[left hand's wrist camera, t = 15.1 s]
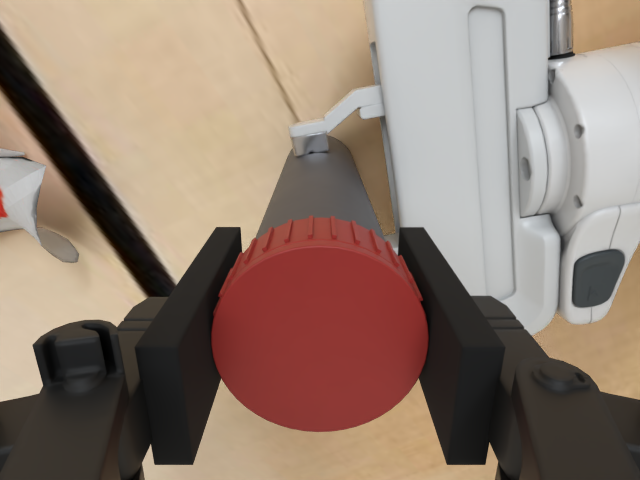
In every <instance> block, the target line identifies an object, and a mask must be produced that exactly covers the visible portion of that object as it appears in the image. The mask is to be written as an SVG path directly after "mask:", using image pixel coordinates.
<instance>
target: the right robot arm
mask: <svg viewBox="0 0 640 480" xmlns="http://www.w3.org/2000/svg"><path fill="white" fill-rule="evenodd" d="M363 3H364V10H365V18H366V25H367V32H368V39H369V46H370V53H371V61H372V68H373V75H374V82H375V85H370V86H365V87H360V88H356V89H352V90H351V91H350V92H349V93H348V94H347V95H345V96H344V97H343V98H342V99H341V100H340V101H339V102H338V103H337V104H335V105H334V106H333V107H332V108H331V109H330V110H329V111H328V112H326V113H325V114H324V118H319V119H314V120H309V121H304V122H299V123H295V124H292V125H290V126H289V127H288V128H289V133H290V138H291V142H292V146H293V151H294V155H295V156H304V155H307V154H309V153H310V151H312V152H315V153H320V152H325V151H329V145H328V139H327V134H328V133H329V132H331V131H332V130H333V129H334V128H335V127H336V126H337V125H339V124H340V123H341V122H342V121H343V120H344V119H346V118H347V117H348V116H349V115H350V114H351V113H353V112H354V111H355V110H357V114H358V115H359V116H360V118H362V119H363V120H364V119H369V118H375V117H379V118H380V125H381V132H382V139H383V147H384V154H385V161H386V168H387V175H388V182H389V190H390V197H391V204H392V211H393V218H394V225H395V233H394V234H389V235H384V238H385V241H387V240H388V241H389V242H390V243H391V245H392V247H393V250H394V251H395V253H396V254H397V255H398V244H399V229H400V227H424V228H425V230H426V231H427V233H428V234H429V236H430V237H431V239H432V240H433V242H434V243H435V245H436V246H437V248H438V249H439V250H440V252H441V253H442V255H443V256H444V258H445V259H446V261H447V262H448V264H449V265H450V267H451V268H452V269H453V271H454V272H455V274H456V275H457V277H458V278H459V280H460V281H461V283H462V284H463V286H464V287H465V288H466V290H467V291H468V293H469V294H470V296H492V297H494V298H495V299H497V300H499V301H500V302H502V303H503V304H505V305H507V306H508V308H509V309H510V310H511V311H512V313H513V314H514V315H515V316H516V320H519V321H520V322H521V324H522V325H523V326H524V329H526V330H527V331H528V332H529V333H530V335H531V336H532V335H534V334H536V333H538V332H540V331H541V330H542V329H544V328H545V327H546V326H547V325H548V324H549V323H550V322H551V320H552V319H553V317H554V316H555V313H557V314H558V315H560V316H561V317H562V318H563V319H565V320H566V321H567V322H569V323H571V324H575V325H580V324H589V323H593V322H597V321H599V320H601V319H602V318H604V317H605V315H606V314H607V313H608V311H609V309H610V307H611V305H612V302H613V300H614V297H615V295H616V292H617V290H618V287H619V285H620V283H621V280H622V278H623V275H624V273H625V271H626V269H627V266H628V264H629V262H630V260H631V258H632V256H633V254H634V252H635V250H636V248H637V246H638V245H639V243H640V41H639V42H633V43H629V44H624V45H618V46H613V47H608V48H603V49H598V50H593V51H588V52H583V53H577V54H575V53H573V11H571V10H572V5H571V0H363ZM326 132H327V133H326Z"/></svg>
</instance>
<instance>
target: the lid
mask: <svg viewBox="0 0 640 480" xmlns="http://www.w3.org/2000/svg"><path fill="white" fill-rule="evenodd" d="M218 297H220V299H219V301H218V303H217V305H216V307H215V310H214V312H213V316H214V318H213V323H212V330H211V346H212V353H213V358H214V361H215V364H216V367H217V370H218V372H219V374H220V376H221V378H222V380H223V382H224V383H225V385H226V386H227V388H228V389H229V390H230V392H231V393H232V394H233V395H234V396H235V397H236V399H238V400H239V401H240V402H241V403H242V404H243V405H244V406H245V407H247V408H248V409H249V410H251V411H252V412H254V413H255V414H257V415H258V416H260V417H262V418H264V419H266V420H268V421H270V422H273V423H275V424H278V425H280V426H284V427H287V428H291V429H296V430H302V431H312V432H329V431H338V430H344V429H348V428H352V427H356V426H359V425H362V424H365V423H367V422H370V421H372V420H374V419H376V418H378V417H380V416H381V415H383V414H384V413H386V412H388V411H389V410H391V409H392V408H393V407H394V406H395V405H397V404H398V403H399V402H400V401H401V400H402V399H403V398H404V397H405V396H406V395H407V394H408V393H409V391H410V390H411V389H412V387H413V386H414V384H415V383H416V381H417V379H418V378H419V376H420V374H421V372H422V369H423V366H424V364H425V361H426V356H427V351H428V342H429V333H428V324H427V320H426V317H427V316H426V314H425V311H424V309H423V307H422V305H421V302H420V301H422V300H423V298H422V296H421V294H420V291H419V289H418V287H417V285H416V283H415V281H414V278H413V276H412V274H411V272H409V270H408V268H407V265H406V263H405V261H404V259H403V257H402V255H400V256H398V255H397V254H396V253H395V251H394V250H393V247H392V245H391V243H390V242H389V241H388V240H387V241H386V242H385V241H384V240H383V239H382V238H380V237H379V236H377V235H376V233H375V230H373V229H370V230H368V229H366V228H364V227H362V226H360V225H357V224H356V221H353V220H352V221H351V222H348V221H344V220H339V219H335V216H331V217H330V218H314V217H313V216H309V218H307V219H301V220H295V221H293V220H292V219H290V220H288V223H285V224H283V225H281V226H278V227H276V228H273V227H270V228H269V229H268V232H267V233H265V234H264V235H262V236H261V237H260V238H258V239H256V238H254V239H253V240H252V242H251V244H250V246H249V248H248V249H247V250H246V251H245V252H244V253H242V252H240V254H239V256H238V258H237V260H236V262H235V264H234V267H233V269H232V268H231V269H230V271H229V273H228V276H227V278H226V280H225V282H224V284H223V286H222V289H221V291H220V293H219V295H218Z"/></svg>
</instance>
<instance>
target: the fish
mask: <svg viewBox="0 0 640 480" xmlns="http://www.w3.org/2000/svg"><path fill="white" fill-rule="evenodd" d="M24 154H25V153H24V152H18V151H12V150H7V149H1V148H0V232H4V231H10V230H15V229H25V230H26V231H27V232H28V233H29V234H31V235H32V236H33V237H34V238H35V239H36V240H37V241H38V242H39V243H40V245H41V246H42V247H43V248H45V249H46V250H47V251H48V252H49V253H51V254H52V255H53V256H54V257H56V258H58V259H59V260H61V261H62V262H70V263H74V262H78V256H79V253H78V252H77V250H76V249H75V247H74V246H73V245H72V244H71V242H70V241H69V240H68V239H66V238H64V237H62V236H61V235H59V234H57V233H54V232H52V231H50V230H47V229H45V228H42V227H38V228H37V211H36V207H37V202H38V197H39V192H40V187H41V183H42V179H43V175H44V172H45V168H46V165H43V164H40V163H37V162H35V161H32V160H29V159H27V158H24V157H14V156H23V155H24Z"/></svg>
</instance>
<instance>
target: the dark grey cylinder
mask: <svg viewBox="0 0 640 480" xmlns="http://www.w3.org/2000/svg"><path fill="white" fill-rule="evenodd" d="M327 139H328V145H329V151H325V152H320V153H315V152H312V151H310V153H309V154H307V155H304V156H295V155H294V151H293V149H292V150H291V152H290V153H289V155H288V158H287V160H286V163H285V165H284V168H283V170H282V173H281V175H280V178H279V180H278V183H277V185H276V188H275V190H274V193H273V195H272V198H271V200H270V203H269V205H268V208H267V210H266V213H265V215H264V218H263V220H262V223H261V225H260V228H259V230H258V233H257V235H256V239H258V238H260V237H261V236H262V235H264V234H265V233H267V232H268V229H269V228H270V227H273V228H276V227H278V226H281V225H283V224H285V223H288V220H290V219H292V220H293V221H295V220H301V219H307V218H309V216H313V217H314V218H330V217H331V216H335V219H339V220H344V221H348V222H351V221H352V220H353V221H356V224H357V225H360V226H362V227H364V228H366V229H368V230H370V229H373V230H375V233H376V235H377V236H379V237H380V238H382V239H383V240H384V241H385V238H384V236H383V233H382V231H381V228H380V226H379V223H378V220H377V218H376V215H375V213H374V210H373V208H372V205H371V203H370V200H369V198H368V195H367V193H366V190H365V188H364V185H363V183H362V180H361V178H360V175H359V172H358V170H357V167H356V165H355V162H354V160H353V157H352V155H351V153H350V151H349V150H348V148H347V147H346V146H345V145H344V144H343V143H342V142H340V141H339V140H337V139H335V138H333V137H331V136H327ZM385 242H386V241H385Z"/></svg>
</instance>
